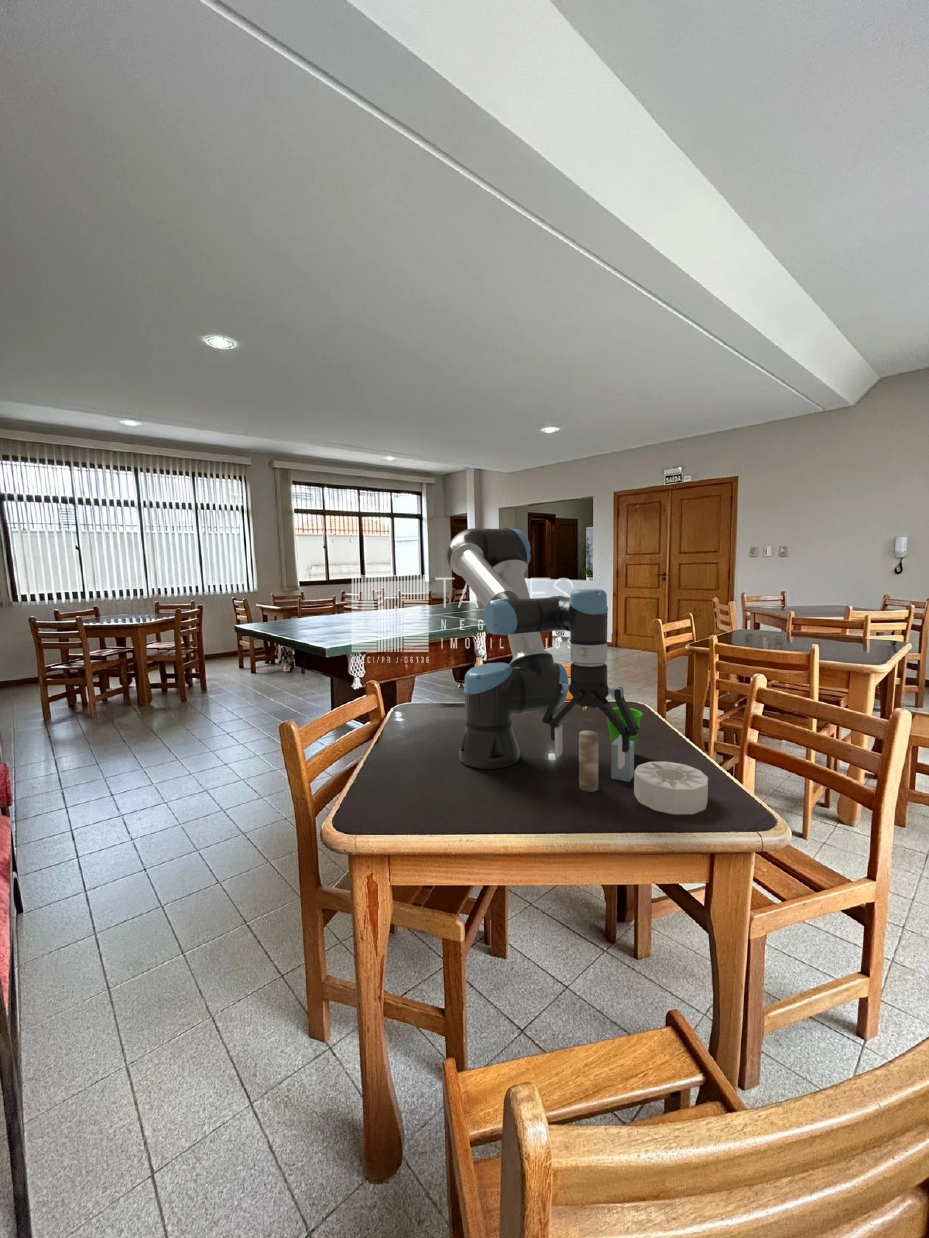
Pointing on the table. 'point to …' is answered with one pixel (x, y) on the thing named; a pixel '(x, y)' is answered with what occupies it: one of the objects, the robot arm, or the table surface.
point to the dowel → (588, 761)
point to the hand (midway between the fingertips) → (589, 760)
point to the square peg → (628, 768)
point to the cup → (614, 731)
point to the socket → (671, 787)
